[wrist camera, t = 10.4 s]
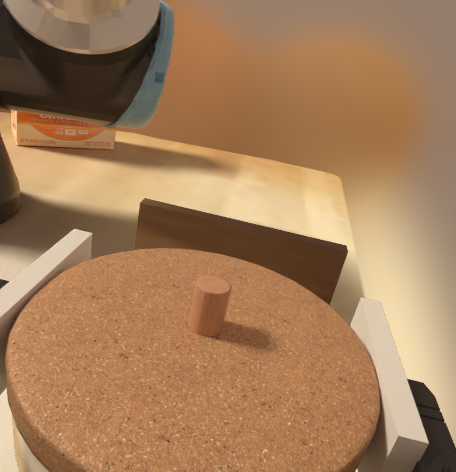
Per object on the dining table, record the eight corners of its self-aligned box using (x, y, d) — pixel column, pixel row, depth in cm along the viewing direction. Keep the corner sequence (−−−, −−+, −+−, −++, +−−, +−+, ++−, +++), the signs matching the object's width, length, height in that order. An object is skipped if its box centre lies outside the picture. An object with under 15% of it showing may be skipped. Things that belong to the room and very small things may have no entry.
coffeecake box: (16, 146, 65) (14, -1, 57) (11, 133, 70) (9, -3, 62) (115, 150, 72) (126, 22, 64) (104, 138, 78) (113, 19, 70)
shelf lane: (136, 268, 40) (144, 198, 37) (322, 314, 39) (346, 245, 36) (75, 353, 29) (80, 262, 26) (334, 419, 28) (369, 333, 25)
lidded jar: (-10, 430, 17) (-20, 215, 13) (218, 366, 23) (257, 204, 19) (48, 811, 9) (64, 558, 6) (370, 569, 15) (487, 364, 11)
